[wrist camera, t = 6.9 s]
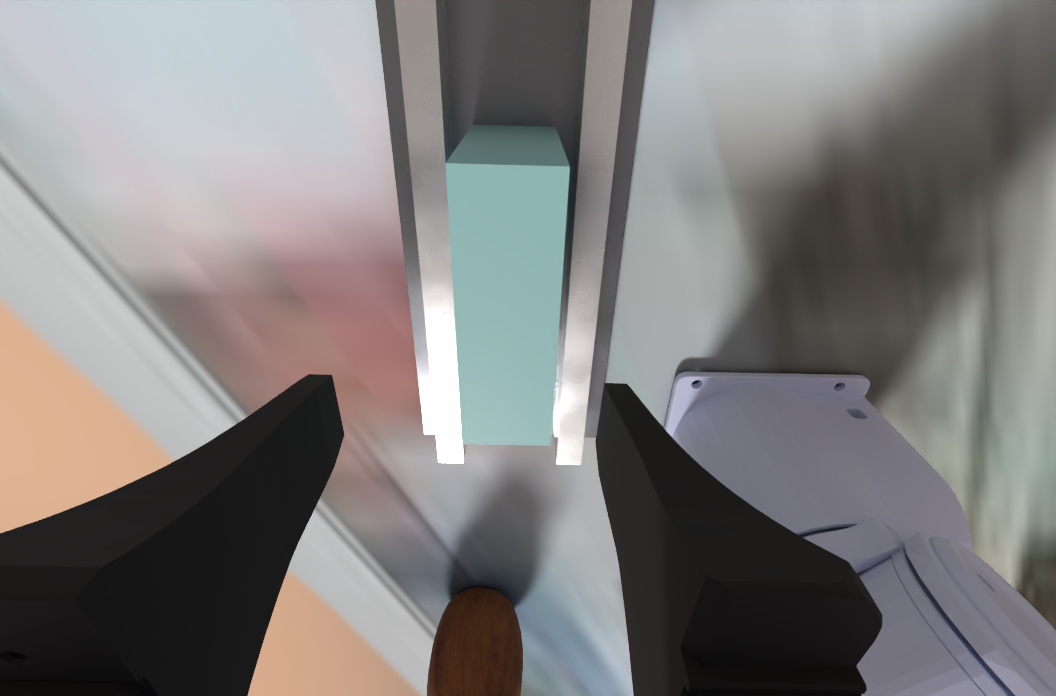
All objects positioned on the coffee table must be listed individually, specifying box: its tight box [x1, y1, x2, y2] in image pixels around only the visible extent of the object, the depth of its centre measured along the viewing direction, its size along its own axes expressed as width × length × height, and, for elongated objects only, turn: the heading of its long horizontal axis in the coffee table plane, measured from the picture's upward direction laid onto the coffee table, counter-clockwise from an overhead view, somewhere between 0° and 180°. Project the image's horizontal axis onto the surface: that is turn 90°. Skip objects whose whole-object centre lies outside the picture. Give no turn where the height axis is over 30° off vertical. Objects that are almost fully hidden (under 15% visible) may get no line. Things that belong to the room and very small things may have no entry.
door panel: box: [446, 125, 570, 446], centre depth 17 cm, size 3×9×7 cm, turn 178°
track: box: [376, 0, 654, 465], centre depth 19 cm, size 9×22×3 cm, turn 179°
